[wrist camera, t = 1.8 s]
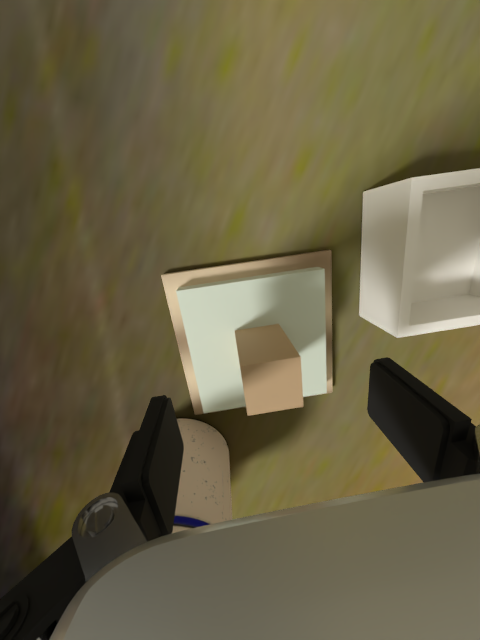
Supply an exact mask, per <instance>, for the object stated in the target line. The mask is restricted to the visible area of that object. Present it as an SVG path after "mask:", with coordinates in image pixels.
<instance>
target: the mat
mask: <svg viewBox="0 0 480 640" xmlns="http://www.w3.org/2000/svg"><path fill="white" fill-rule="evenodd" d="M312 267H320V268H323V269H325V319H326V379H327V393H332V257H331V250H323V251H316V252H309V253H302V254H296V255H289V256H282V257H275V258H268V259H262V260H255V261H248V262H241V263H234V264H227V265H221V266H214V267H207V268H200V269H193V270H187V271H180V272H173V273H166V274H162V275H161V277H162V281H163V285H164V289H165V293H166V297H167V302H168V306H169V310H170V314H171V318H172V322H173V326H174V330H175V334H176V339H177V343H178V347H179V351H180V355H181V359H182V363H183V367H184V372H185V376H186V380H187V384H188V388H189V392H190V396H191V400H192V404H193V409H194V413H195V415H198V414H204V412H203V408H202V403H201V399H200V395H199V390H198V386H197V381H196V377H195V373H194V368H193V364H192V359H191V355H190V351H189V346H188V342H187V337H186V333H185V329H184V324H183V320H182V315H181V311H180V307H179V302H178V298H177V293H176V290H177V289H178V288H179V287H184V286H191V285H198V284H205V283H211V282H218V281H225V280H232V279H238V278H245V277H252V276H258V275H265V274H272V273H279V272H285V271H292V270H299V269H306V268H312ZM324 394H326V393H324ZM318 395H320V394H318ZM312 396H313V395H312ZM306 397H307V396H306ZM245 407H246V406H245ZM239 408H241V407H239ZM233 409H235V408H233ZM227 410H229V409H227ZM221 411H223V410H221ZM215 412H217V411H215ZM209 413H211V412H209Z"/></svg>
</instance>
